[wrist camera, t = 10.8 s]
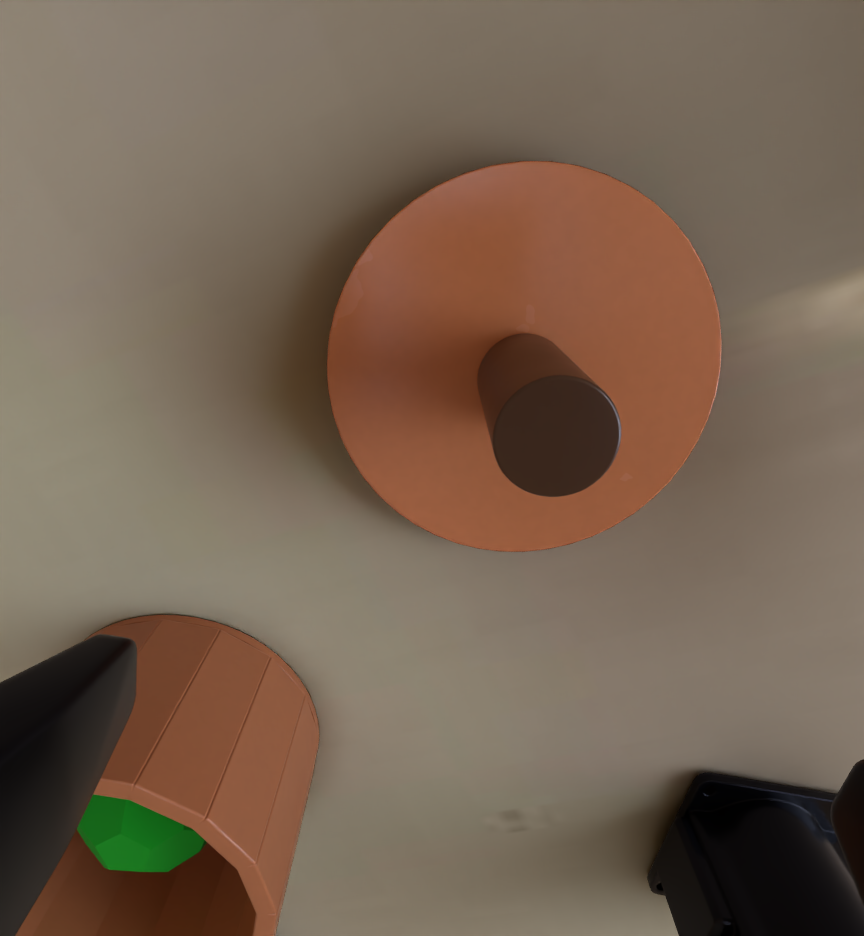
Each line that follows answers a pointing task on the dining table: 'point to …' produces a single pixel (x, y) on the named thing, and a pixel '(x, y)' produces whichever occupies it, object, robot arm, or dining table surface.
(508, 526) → the lid
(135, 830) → the polyhedron
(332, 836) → the dining table surface
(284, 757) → the pot
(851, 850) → the robot arm
